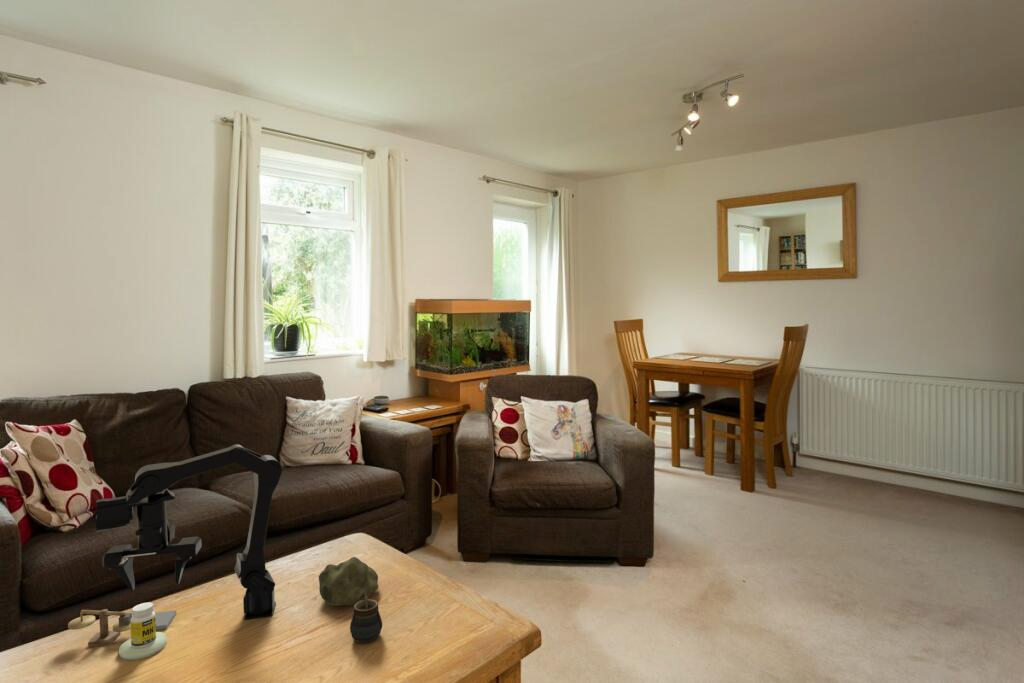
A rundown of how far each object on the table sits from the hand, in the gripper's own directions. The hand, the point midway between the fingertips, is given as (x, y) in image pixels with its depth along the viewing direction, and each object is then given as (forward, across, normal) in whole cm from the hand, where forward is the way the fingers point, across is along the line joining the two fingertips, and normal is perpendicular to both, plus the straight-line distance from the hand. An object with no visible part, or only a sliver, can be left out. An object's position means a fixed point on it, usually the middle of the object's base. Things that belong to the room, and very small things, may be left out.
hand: (155, 587), depth 130 cm
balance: (+12, +12, -4) cm, 18 cm away
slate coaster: (+13, +3, -8) cm, 15 cm away
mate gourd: (+14, -47, +12) cm, 50 cm away
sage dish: (+13, +2, +3) cm, 13 cm away
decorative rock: (+14, -43, -9) cm, 46 cm away
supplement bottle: (+12, +2, +3) cm, 12 cm away
